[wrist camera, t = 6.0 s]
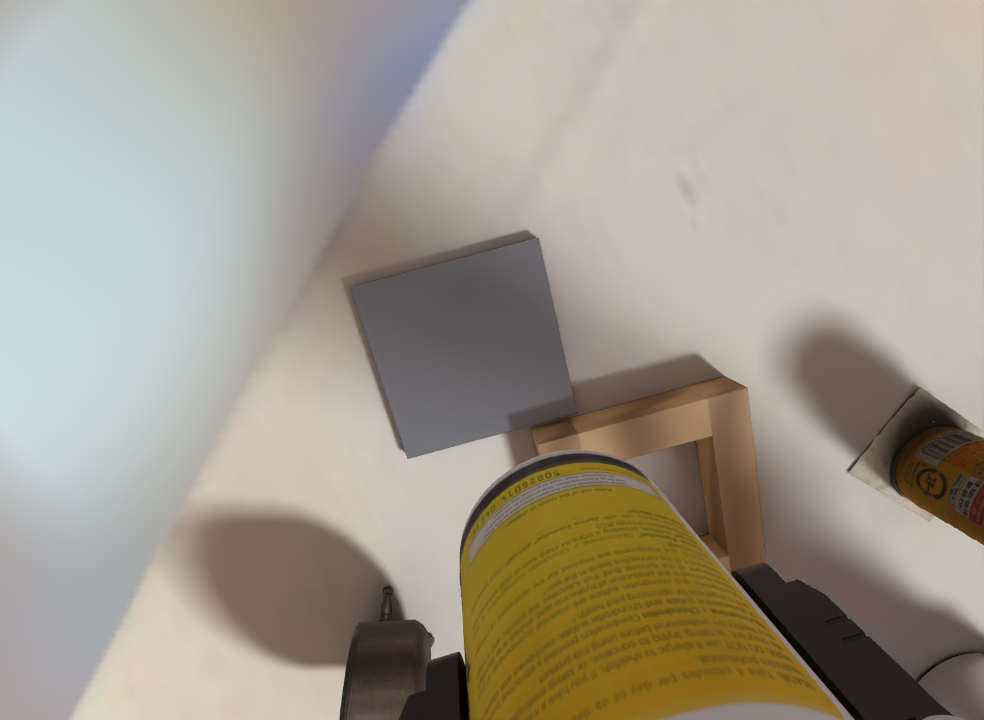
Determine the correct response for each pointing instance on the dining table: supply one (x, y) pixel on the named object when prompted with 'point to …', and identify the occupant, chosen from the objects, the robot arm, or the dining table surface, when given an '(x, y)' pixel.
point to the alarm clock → (384, 666)
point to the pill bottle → (613, 608)
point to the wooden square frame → (677, 420)
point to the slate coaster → (467, 347)
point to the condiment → (930, 464)
